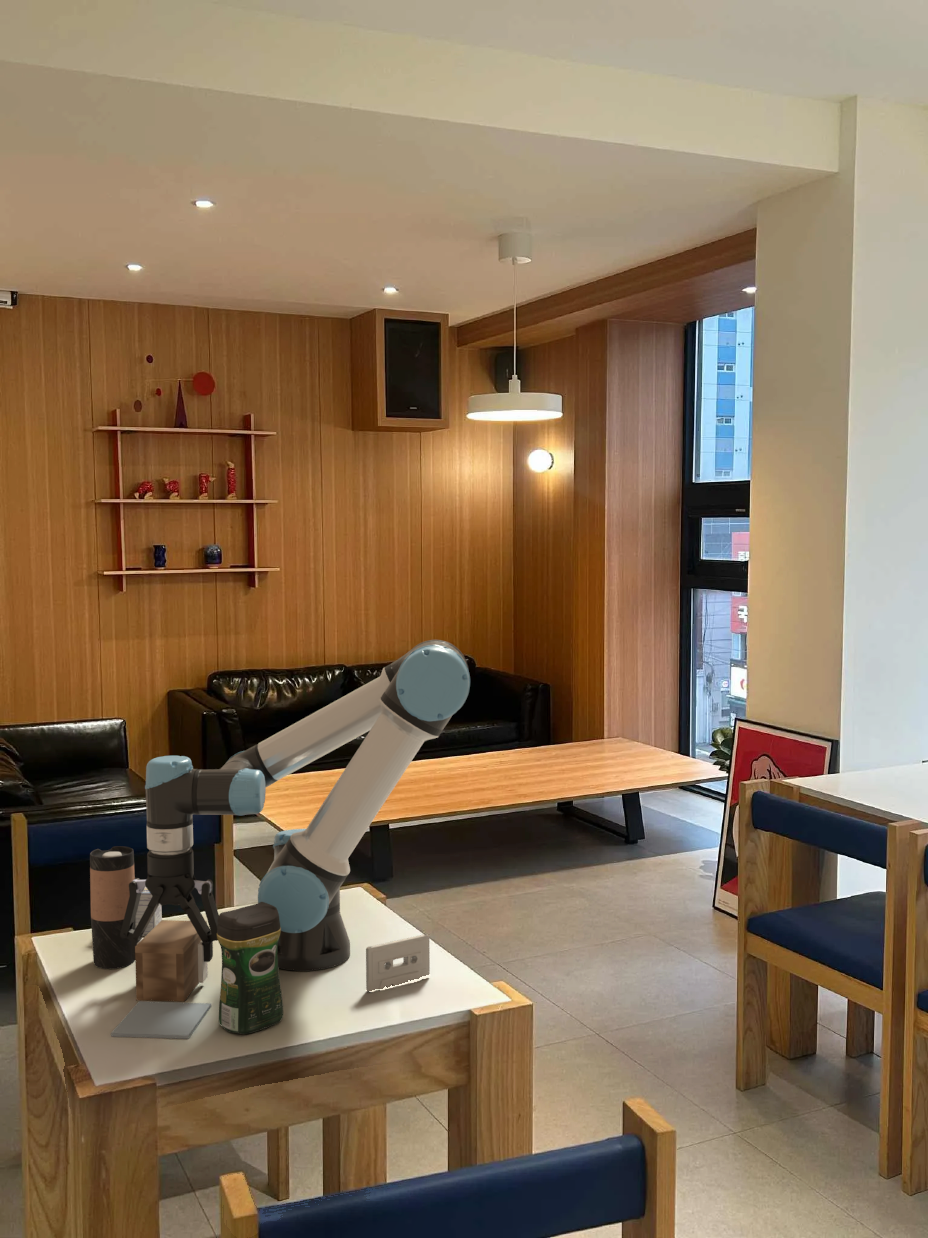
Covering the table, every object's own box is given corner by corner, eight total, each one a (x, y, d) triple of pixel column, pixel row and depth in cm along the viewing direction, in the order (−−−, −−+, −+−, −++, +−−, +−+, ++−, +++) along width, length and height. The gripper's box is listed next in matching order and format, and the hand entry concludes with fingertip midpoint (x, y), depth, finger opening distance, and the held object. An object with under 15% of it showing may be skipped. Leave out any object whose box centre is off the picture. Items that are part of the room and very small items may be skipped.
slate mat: (211, 1006, 186) (211, 1003, 186) (188, 1038, 174) (188, 1035, 174) (139, 1004, 187) (139, 1001, 187) (111, 1036, 175) (111, 1033, 175)
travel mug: (123, 971, 201) (121, 859, 200) (83, 968, 203) (80, 856, 201) (144, 955, 209) (141, 847, 207) (105, 952, 210) (103, 845, 209)
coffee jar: (262, 1007, 186) (260, 894, 185) (291, 1022, 180) (289, 906, 179) (209, 1025, 179) (207, 908, 178) (238, 1041, 174) (236, 920, 172)
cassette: (369, 995, 191) (369, 950, 191) (364, 991, 193) (364, 946, 192) (431, 979, 198) (431, 936, 197) (425, 976, 199) (425, 933, 199)
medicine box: (162, 929, 223) (161, 885, 222) (155, 937, 219) (154, 892, 218) (122, 928, 223) (121, 885, 223) (114, 936, 219) (113, 892, 218)
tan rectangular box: (207, 971, 201) (206, 921, 200) (184, 1002, 188) (183, 948, 188) (162, 970, 202) (161, 920, 201) (136, 1000, 189) (135, 946, 188)
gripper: (96, 854, 190) (99, 985, 192) (229, 856, 189) (231, 989, 190) (113, 842, 198) (116, 968, 199) (241, 844, 196) (243, 972, 198)
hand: (172, 979), depth 195 cm, fingers open, 10 cm apart
